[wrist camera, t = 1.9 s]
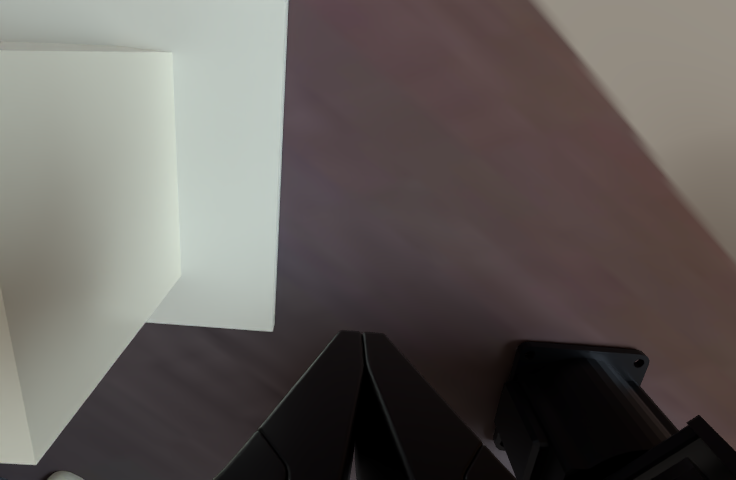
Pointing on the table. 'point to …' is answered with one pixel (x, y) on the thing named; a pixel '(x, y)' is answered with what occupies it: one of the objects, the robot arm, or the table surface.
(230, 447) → the table surface
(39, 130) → the tile
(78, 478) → the smartphone
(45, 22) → the mat
